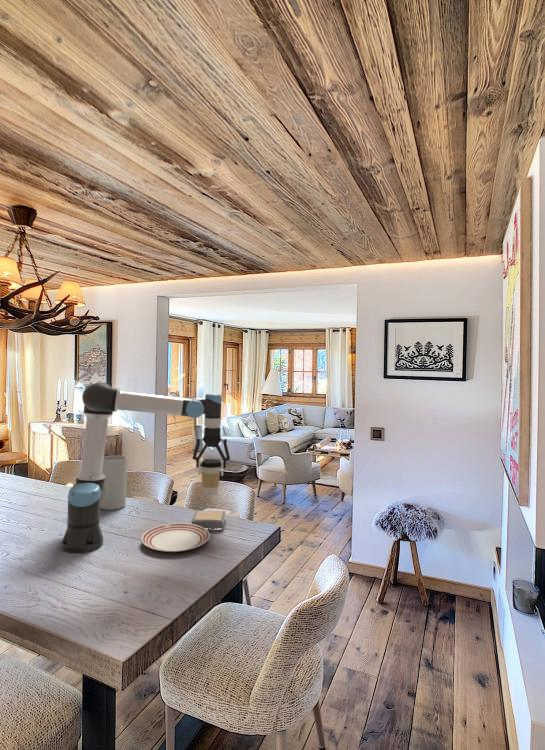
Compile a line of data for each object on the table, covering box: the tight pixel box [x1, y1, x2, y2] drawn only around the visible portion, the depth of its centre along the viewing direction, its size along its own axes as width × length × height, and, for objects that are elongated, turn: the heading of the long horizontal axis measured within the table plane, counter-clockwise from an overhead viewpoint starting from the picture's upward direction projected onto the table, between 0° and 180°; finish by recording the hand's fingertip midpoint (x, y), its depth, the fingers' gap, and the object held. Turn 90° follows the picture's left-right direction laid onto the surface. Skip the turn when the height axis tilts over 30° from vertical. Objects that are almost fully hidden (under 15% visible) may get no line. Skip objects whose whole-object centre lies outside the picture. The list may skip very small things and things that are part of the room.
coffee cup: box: [200, 458, 222, 496], centre depth 192 cm, size 10×10×15 cm
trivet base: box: [191, 510, 226, 530], centre depth 192 cm, size 14×14×4 cm
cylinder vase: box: [100, 455, 128, 511], centre depth 213 cm, size 12×12×25 cm
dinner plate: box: [141, 522, 211, 553], centre depth 171 cm, size 28×27×3 cm
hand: (210, 474), depth 192 cm, fingers closed on coffee cup, 10 cm apart
